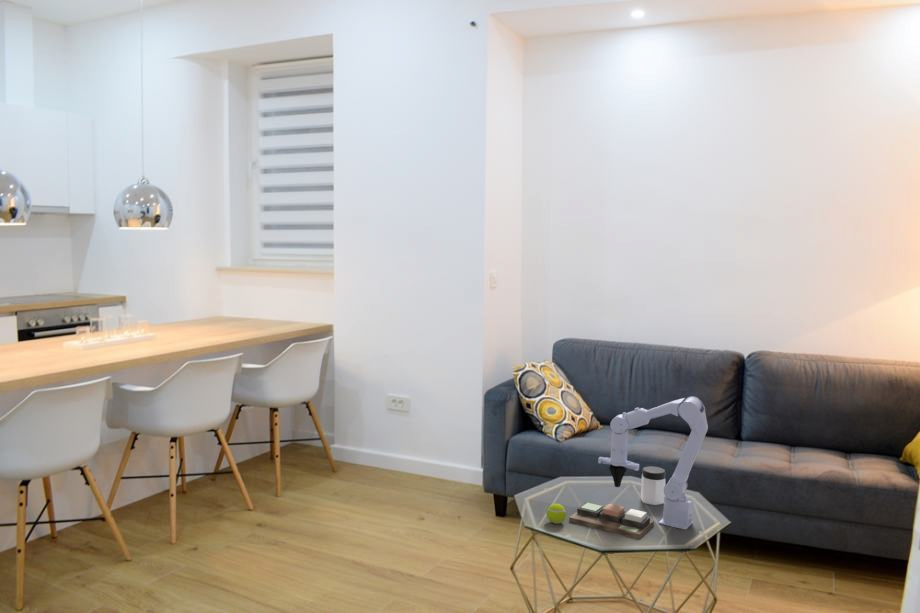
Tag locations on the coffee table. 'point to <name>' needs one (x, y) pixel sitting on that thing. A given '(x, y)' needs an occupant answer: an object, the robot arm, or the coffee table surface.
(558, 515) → the tennis ball
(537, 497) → the coffee table surface
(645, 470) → the jar
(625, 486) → the coffee table surface
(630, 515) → the key white
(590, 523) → the console
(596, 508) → the key sage
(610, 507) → the key terracotta
